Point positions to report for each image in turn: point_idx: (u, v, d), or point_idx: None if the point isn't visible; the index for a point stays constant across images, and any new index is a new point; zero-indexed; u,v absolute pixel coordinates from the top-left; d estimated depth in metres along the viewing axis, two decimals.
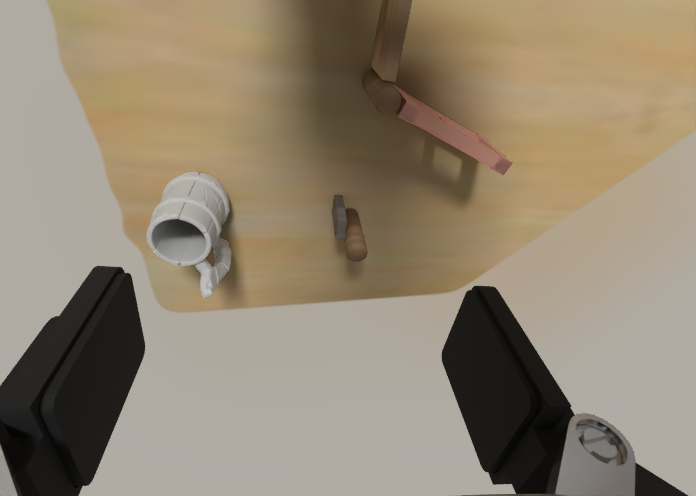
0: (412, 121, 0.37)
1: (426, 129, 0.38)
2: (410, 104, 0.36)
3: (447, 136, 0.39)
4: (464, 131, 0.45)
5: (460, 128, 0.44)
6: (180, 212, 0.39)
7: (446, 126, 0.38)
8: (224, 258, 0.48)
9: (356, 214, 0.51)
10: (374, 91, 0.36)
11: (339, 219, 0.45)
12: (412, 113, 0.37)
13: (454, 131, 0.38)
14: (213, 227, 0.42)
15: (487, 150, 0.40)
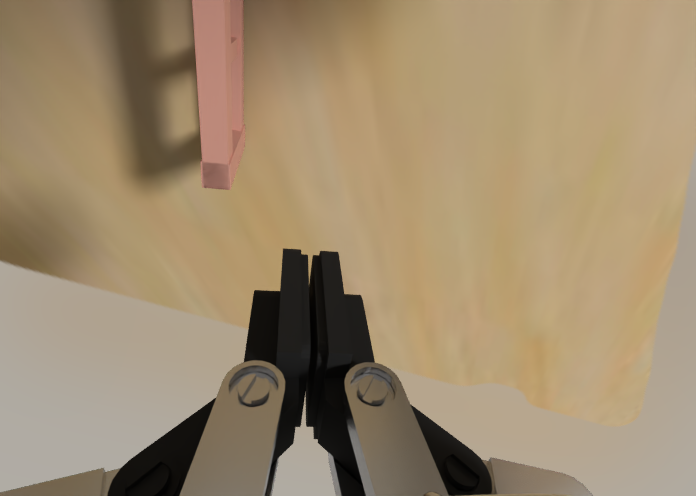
0: None
1: None
2: None
3: (206, 34, 0.18)
4: (237, 97, 0.26)
5: (238, 87, 0.25)
6: None
7: (222, 19, 0.18)
8: None
9: None
10: None
11: None
12: None
13: (222, 44, 0.19)
14: None
15: (225, 132, 0.21)
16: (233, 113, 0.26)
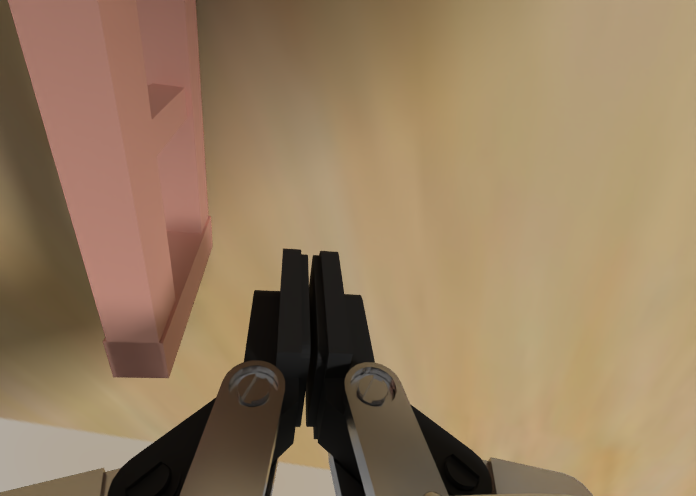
0: None
1: None
2: None
3: (71, 114, 0.08)
4: (192, 185, 0.15)
5: (192, 169, 0.14)
6: None
7: (107, 81, 0.07)
8: None
9: None
10: None
11: None
12: None
13: (115, 135, 0.08)
14: None
15: (146, 296, 0.10)
16: (186, 208, 0.15)
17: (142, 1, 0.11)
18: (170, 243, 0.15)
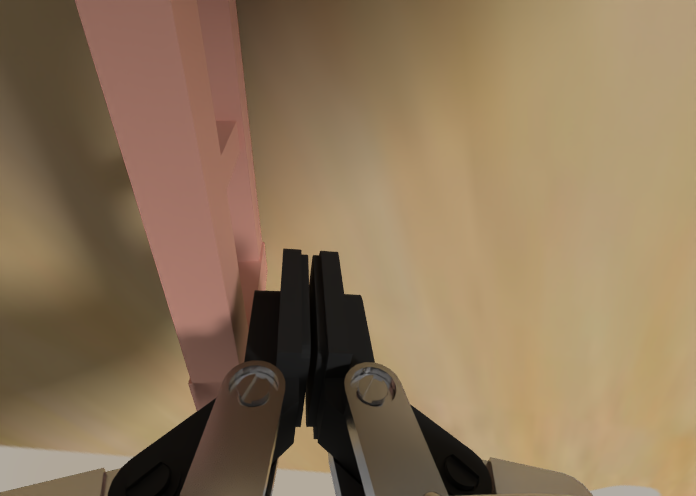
0: None
1: (95, 34, 0.06)
2: None
3: (156, 170, 0.08)
4: (248, 214, 0.15)
5: (247, 199, 0.14)
6: None
7: (190, 135, 0.07)
8: None
9: None
10: None
11: None
12: None
13: (198, 185, 0.08)
14: None
15: (229, 336, 0.10)
16: (243, 238, 0.15)
17: None
18: None
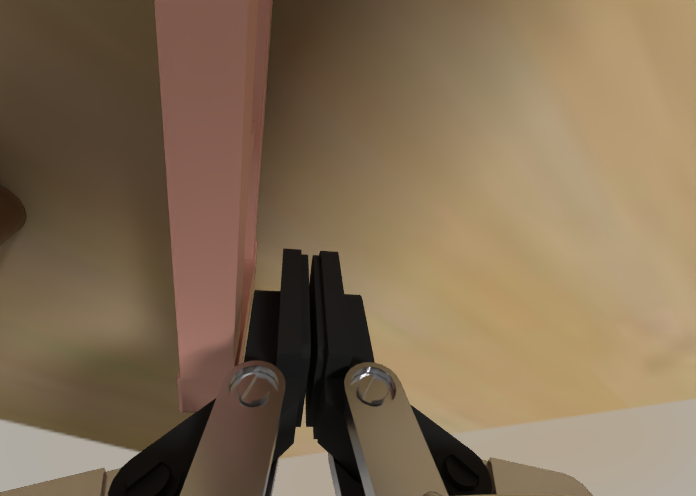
0: None
1: (165, 26, 0.06)
2: None
3: (195, 165, 0.08)
4: (249, 213, 0.15)
5: (252, 198, 0.14)
6: None
7: (237, 136, 0.07)
8: None
9: (2, 215, 0.15)
10: None
11: None
12: None
13: (233, 185, 0.08)
14: None
15: (229, 336, 0.10)
16: None
17: None
18: None
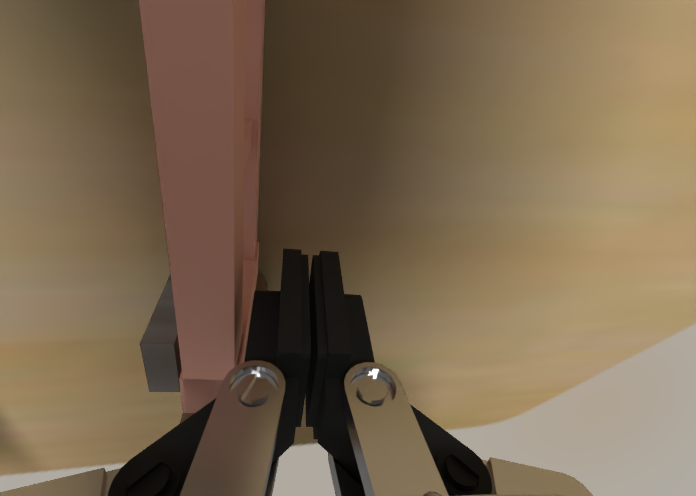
0: None
1: (151, 24, 0.06)
2: None
3: (187, 164, 0.07)
4: (249, 213, 0.15)
5: (251, 198, 0.14)
6: None
7: (228, 133, 0.07)
8: None
9: None
10: None
11: (147, 337, 0.12)
12: None
13: (227, 183, 0.08)
14: None
15: (229, 335, 0.10)
16: None
17: None
18: None
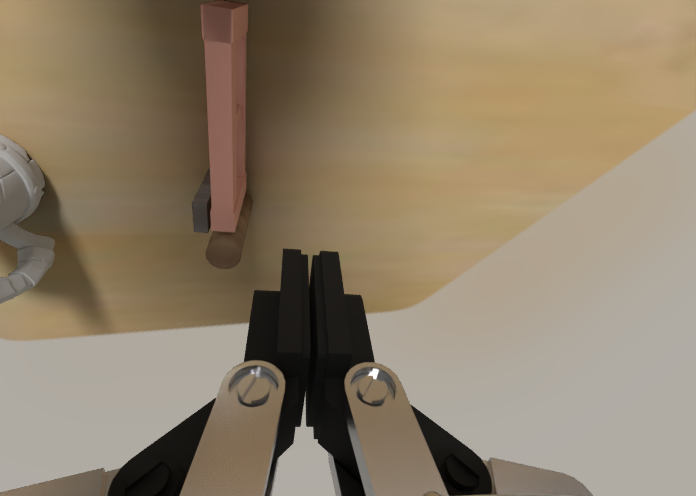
0: (207, 38, 0.21)
1: (208, 72, 0.22)
2: (231, 20, 0.21)
3: (217, 115, 0.23)
4: (240, 151, 0.30)
5: (241, 143, 0.30)
6: None
7: (230, 105, 0.23)
8: (29, 264, 0.31)
9: (244, 197, 0.34)
10: None
11: (194, 201, 0.28)
12: (219, 31, 0.21)
13: (229, 122, 0.23)
14: None
15: (230, 188, 0.26)
16: (237, 164, 0.31)
17: None
18: None
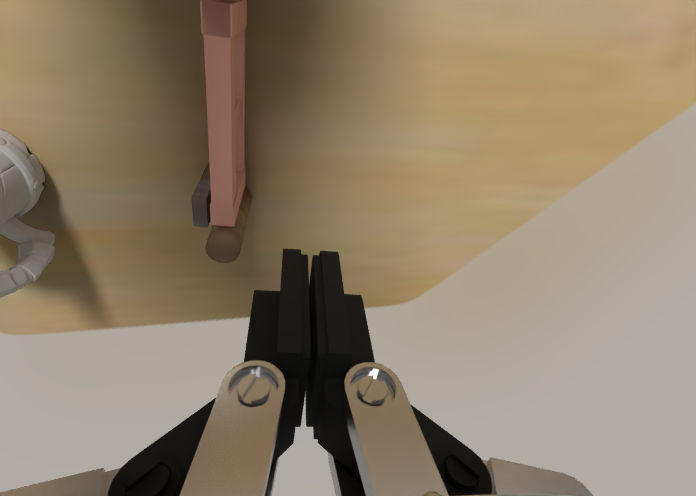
0: (206, 32, 0.21)
1: (207, 67, 0.22)
2: (230, 15, 0.21)
3: (216, 109, 0.23)
4: (239, 146, 0.30)
5: (240, 138, 0.30)
6: None
7: (229, 99, 0.23)
8: (30, 258, 0.31)
9: (244, 192, 0.34)
10: None
11: (194, 195, 0.28)
12: (218, 26, 0.21)
13: (229, 116, 0.24)
14: None
15: (230, 182, 0.26)
16: (236, 158, 0.31)
17: None
18: None
